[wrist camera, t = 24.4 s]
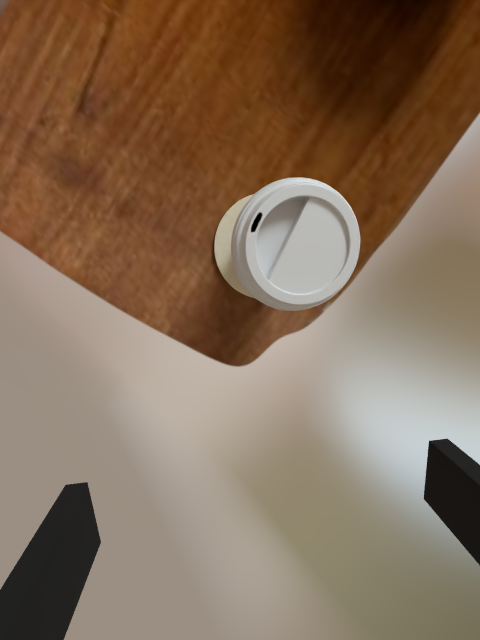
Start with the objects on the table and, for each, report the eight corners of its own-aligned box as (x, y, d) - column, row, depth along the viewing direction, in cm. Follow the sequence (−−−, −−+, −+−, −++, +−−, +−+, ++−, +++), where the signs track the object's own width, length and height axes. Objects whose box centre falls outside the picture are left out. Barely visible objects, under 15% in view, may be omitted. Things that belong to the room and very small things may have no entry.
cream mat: (226, 308, 37) (226, 309, 36) (203, 205, 34) (203, 205, 33) (321, 286, 37) (323, 287, 36) (306, 183, 34) (308, 182, 33)
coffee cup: (270, 185, 33) (314, 135, 19) (322, 251, 35) (398, 252, 21) (207, 245, 34) (202, 241, 20) (262, 305, 36) (294, 343, 22)
